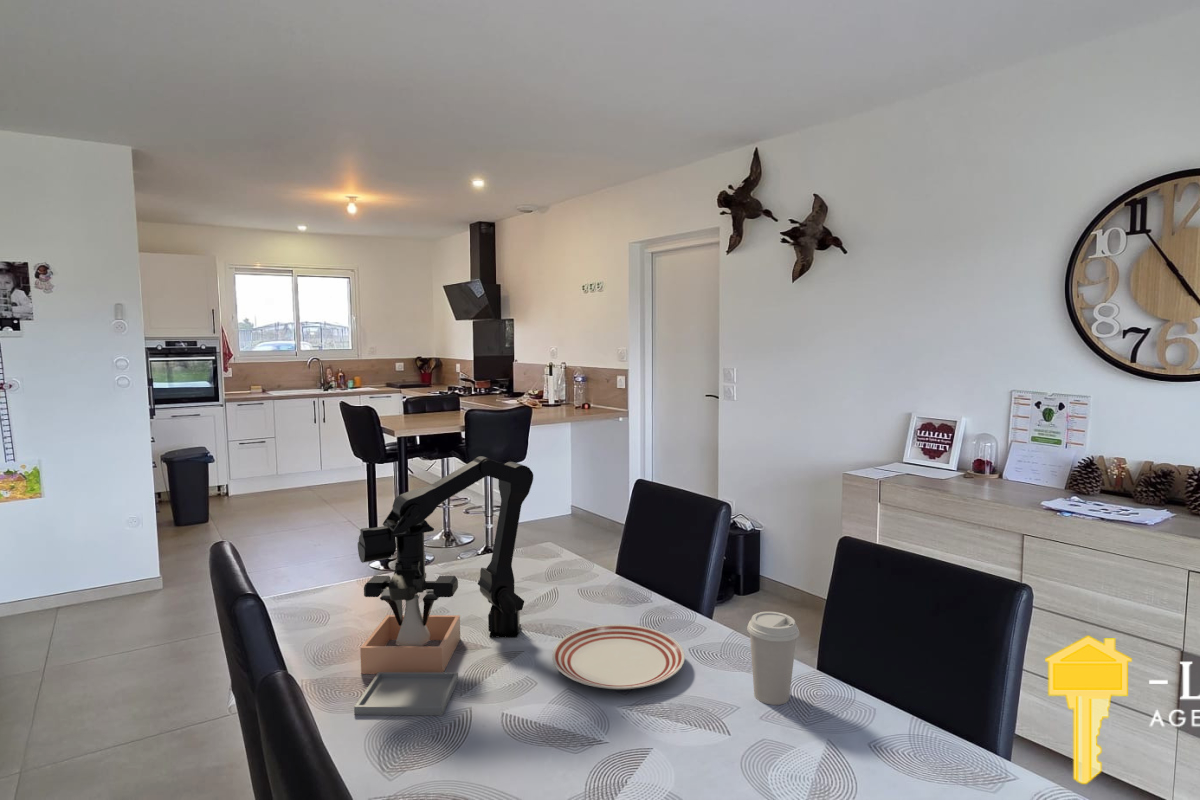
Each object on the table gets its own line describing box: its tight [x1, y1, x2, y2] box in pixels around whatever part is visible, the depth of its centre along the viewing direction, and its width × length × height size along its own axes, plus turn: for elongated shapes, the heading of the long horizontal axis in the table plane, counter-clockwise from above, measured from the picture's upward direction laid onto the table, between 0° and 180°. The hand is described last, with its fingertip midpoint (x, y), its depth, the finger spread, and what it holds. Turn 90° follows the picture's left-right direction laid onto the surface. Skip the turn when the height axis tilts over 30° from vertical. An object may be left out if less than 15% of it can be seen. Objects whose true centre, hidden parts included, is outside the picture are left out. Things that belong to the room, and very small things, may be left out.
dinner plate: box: [551, 623, 686, 690], centre depth 143 cm, size 28×27×3 cm
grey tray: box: [353, 672, 459, 716], centre depth 131 cm, size 16×13×2 cm
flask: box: [395, 593, 431, 646], centre depth 147 cm, size 7×7×10 cm
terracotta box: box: [359, 614, 461, 675], centre depth 147 cm, size 17×17×6 cm
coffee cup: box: [746, 611, 800, 706], centre depth 130 cm, size 10×10×15 cm
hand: (412, 625), depth 147 cm, fingers closed on flask, 5 cm apart
